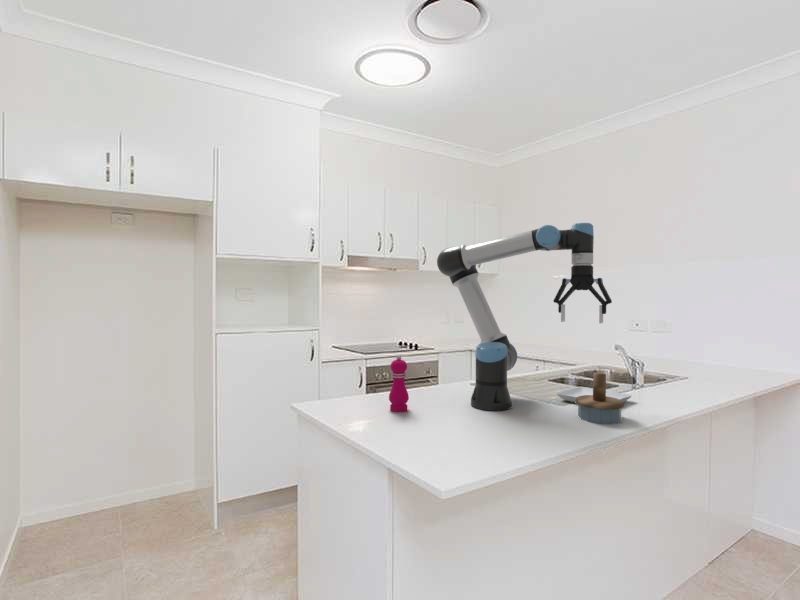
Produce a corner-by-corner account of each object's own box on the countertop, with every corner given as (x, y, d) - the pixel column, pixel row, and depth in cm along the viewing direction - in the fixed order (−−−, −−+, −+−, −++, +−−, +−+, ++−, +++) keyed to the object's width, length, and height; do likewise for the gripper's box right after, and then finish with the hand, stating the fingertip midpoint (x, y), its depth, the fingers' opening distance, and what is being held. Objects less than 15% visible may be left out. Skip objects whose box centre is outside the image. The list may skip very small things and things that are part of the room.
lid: (570, 404, 153) (570, 374, 153) (582, 396, 165) (582, 368, 165) (618, 411, 144) (619, 380, 144) (627, 402, 157) (627, 373, 156)
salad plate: (632, 402, 178) (632, 394, 178) (609, 412, 164) (610, 403, 164) (580, 393, 194) (580, 385, 194) (555, 401, 179) (555, 393, 179)
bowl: (574, 419, 154) (574, 404, 153) (584, 411, 164) (584, 397, 164) (616, 426, 146) (616, 410, 146) (623, 417, 157) (623, 402, 157)
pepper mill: (396, 406, 171) (396, 353, 170) (412, 409, 167) (412, 354, 166) (384, 410, 165) (384, 355, 165) (401, 413, 161) (401, 357, 160)
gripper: (545, 265, 173) (544, 321, 174) (616, 263, 159) (616, 324, 159) (551, 266, 179) (551, 320, 180) (620, 264, 165) (620, 323, 165)
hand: (581, 322), depth 169 cm, fingers open, 13 cm apart
